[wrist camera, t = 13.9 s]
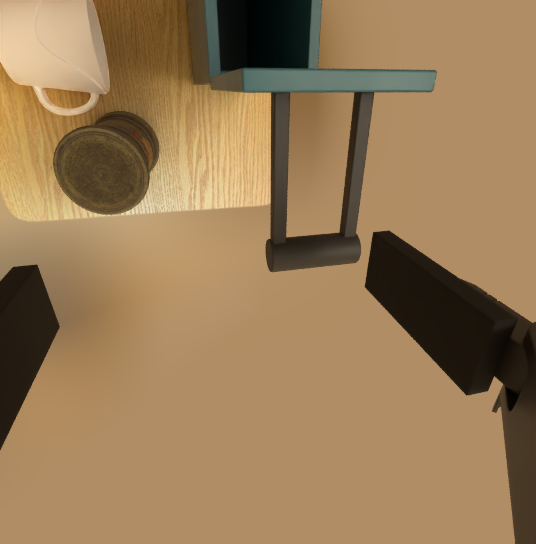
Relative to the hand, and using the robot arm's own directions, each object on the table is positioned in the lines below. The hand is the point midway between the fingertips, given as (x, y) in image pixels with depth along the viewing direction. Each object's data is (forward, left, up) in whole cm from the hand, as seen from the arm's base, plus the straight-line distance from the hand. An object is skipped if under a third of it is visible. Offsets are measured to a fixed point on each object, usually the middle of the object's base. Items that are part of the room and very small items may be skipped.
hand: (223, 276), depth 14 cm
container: (+7, -6, -42) cm, 43 cm away
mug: (+2, -17, -42) cm, 45 cm away
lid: (-9, -1, -9) cm, 13 cm away
